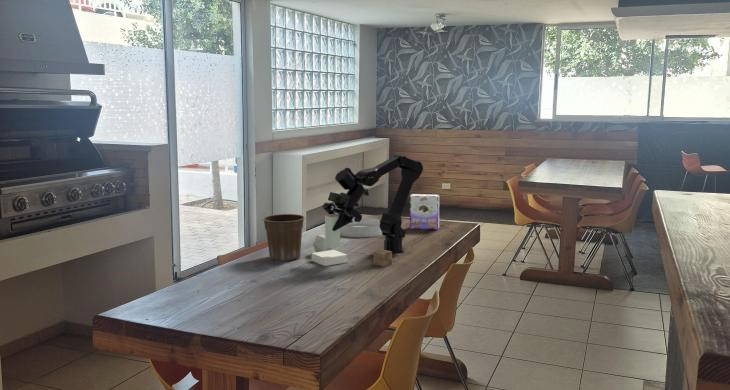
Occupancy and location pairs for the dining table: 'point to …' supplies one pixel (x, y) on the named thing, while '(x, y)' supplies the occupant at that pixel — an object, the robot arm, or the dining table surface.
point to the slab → (329, 257)
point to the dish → (362, 228)
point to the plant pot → (284, 236)
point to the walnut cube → (382, 257)
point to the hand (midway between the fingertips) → (329, 229)
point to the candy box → (424, 211)
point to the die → (320, 244)
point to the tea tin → (331, 231)
